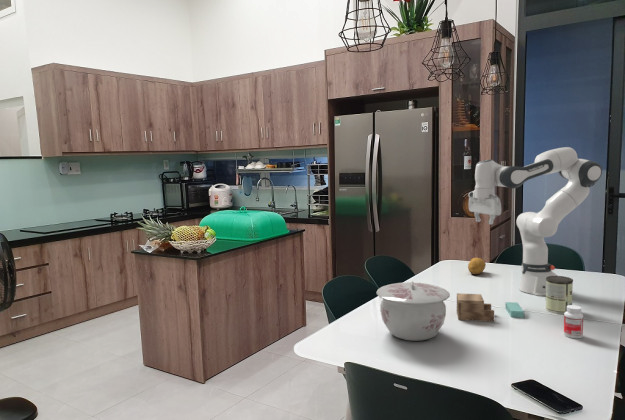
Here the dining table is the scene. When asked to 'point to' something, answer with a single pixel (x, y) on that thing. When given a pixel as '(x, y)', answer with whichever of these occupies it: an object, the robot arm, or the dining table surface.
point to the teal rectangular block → (514, 309)
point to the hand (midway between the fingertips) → (484, 222)
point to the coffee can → (558, 293)
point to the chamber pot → (413, 309)
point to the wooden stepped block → (473, 308)
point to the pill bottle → (573, 322)
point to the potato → (476, 265)
